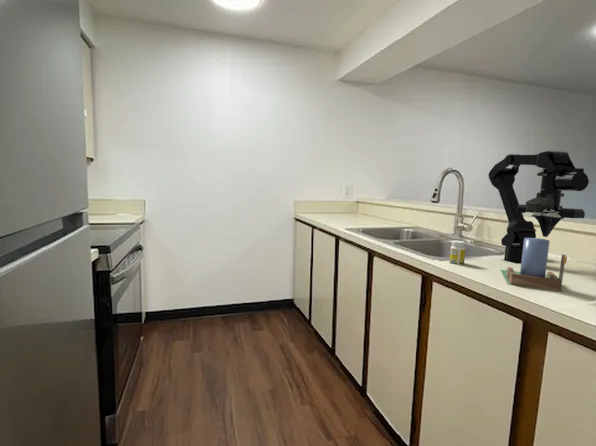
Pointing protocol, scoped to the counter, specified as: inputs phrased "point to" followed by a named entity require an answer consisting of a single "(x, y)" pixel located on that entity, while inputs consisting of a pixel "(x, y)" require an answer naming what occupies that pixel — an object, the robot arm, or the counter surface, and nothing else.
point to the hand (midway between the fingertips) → (545, 236)
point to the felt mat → (518, 273)
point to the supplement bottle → (457, 253)
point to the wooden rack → (538, 278)
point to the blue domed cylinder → (534, 257)
